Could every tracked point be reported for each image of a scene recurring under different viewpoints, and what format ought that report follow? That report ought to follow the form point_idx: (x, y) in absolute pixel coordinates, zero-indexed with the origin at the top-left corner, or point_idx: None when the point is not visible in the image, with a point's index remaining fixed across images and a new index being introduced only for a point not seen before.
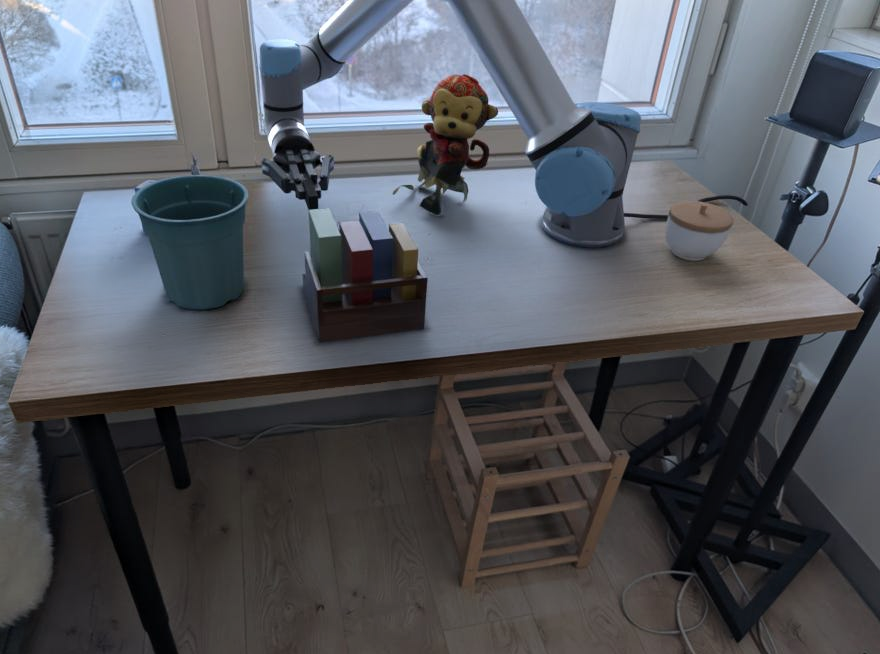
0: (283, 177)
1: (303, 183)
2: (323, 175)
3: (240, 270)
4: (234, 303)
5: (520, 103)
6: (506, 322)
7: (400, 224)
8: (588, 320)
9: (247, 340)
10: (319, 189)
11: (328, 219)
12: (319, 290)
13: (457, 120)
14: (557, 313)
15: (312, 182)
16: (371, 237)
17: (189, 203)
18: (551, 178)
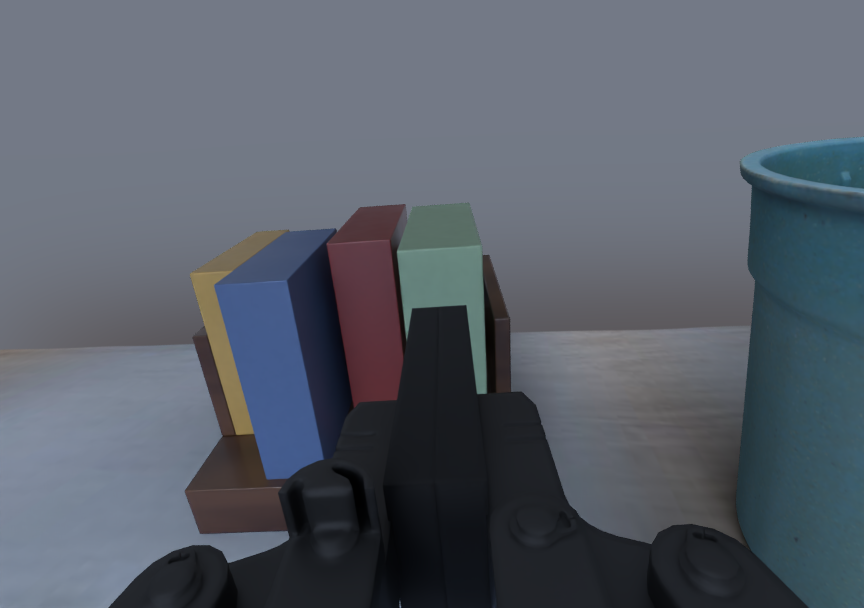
0: (772, 596)
1: (479, 416)
2: (190, 560)
3: (742, 430)
4: (736, 483)
5: None
6: (144, 377)
7: (205, 269)
8: (21, 371)
9: (637, 378)
10: (360, 411)
11: (422, 227)
12: (484, 255)
13: None
14: (37, 386)
15: (393, 423)
16: (333, 231)
17: None
18: None
